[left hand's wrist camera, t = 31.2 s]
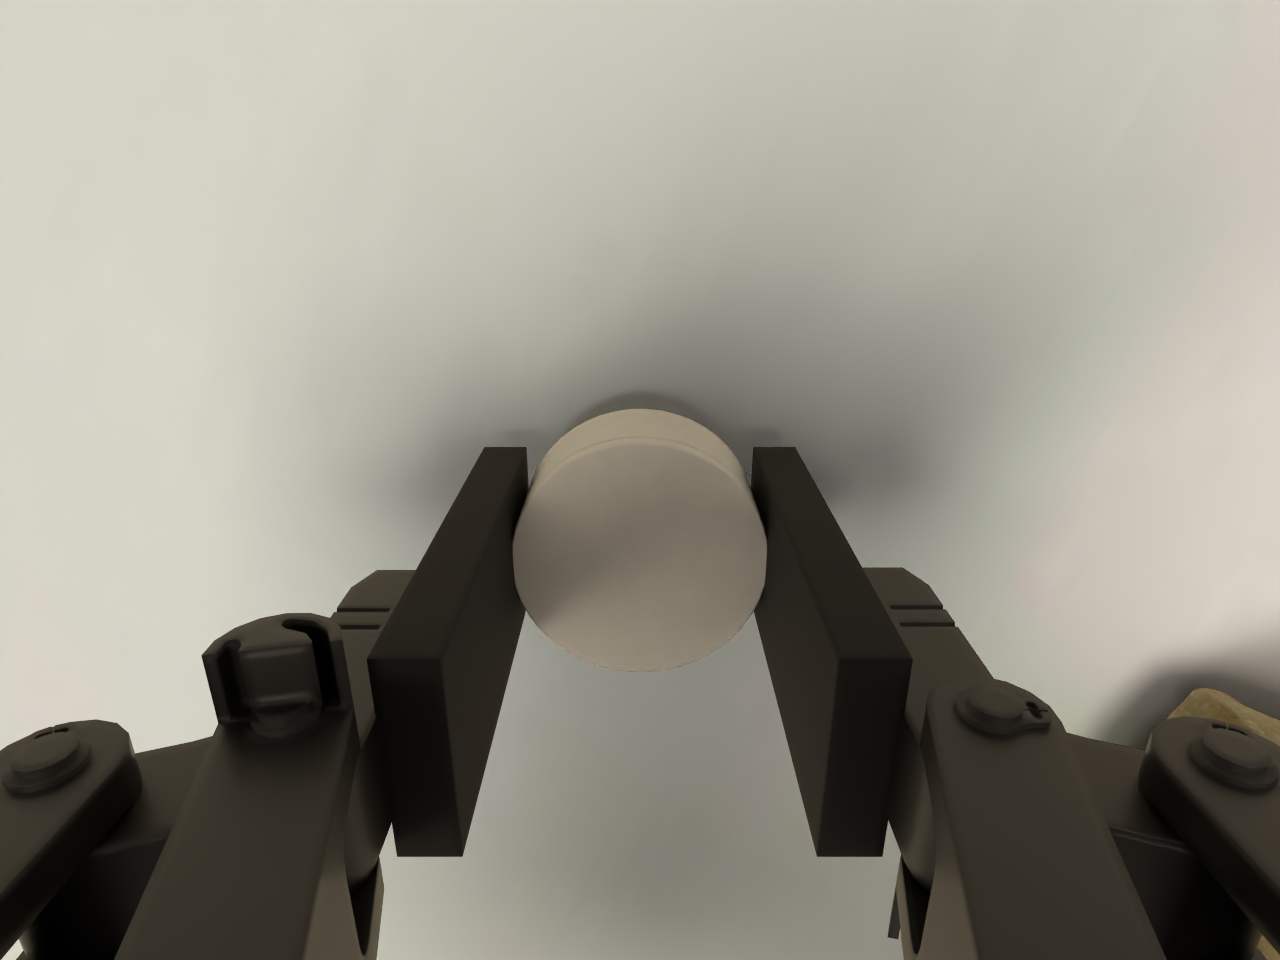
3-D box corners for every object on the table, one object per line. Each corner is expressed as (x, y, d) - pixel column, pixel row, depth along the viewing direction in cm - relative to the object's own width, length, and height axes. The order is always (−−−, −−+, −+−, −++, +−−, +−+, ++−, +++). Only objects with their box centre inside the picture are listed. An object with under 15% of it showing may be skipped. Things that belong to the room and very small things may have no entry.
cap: (672, 361, 13) (677, 391, 11) (794, 543, 15) (815, 594, 13) (481, 487, 14) (457, 534, 12) (611, 648, 15) (608, 710, 14)
